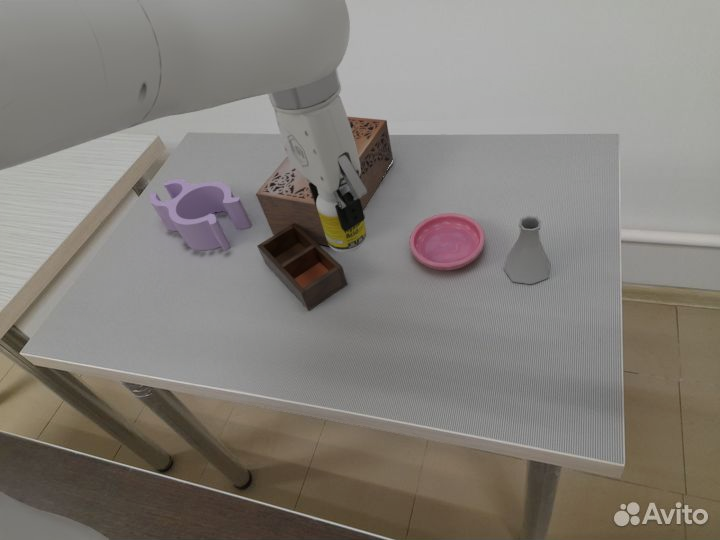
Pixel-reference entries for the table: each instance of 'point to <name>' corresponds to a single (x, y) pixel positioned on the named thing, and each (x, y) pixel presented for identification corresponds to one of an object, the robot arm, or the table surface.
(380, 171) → the tissue box cover
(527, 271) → the flask
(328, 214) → the supplement bottle
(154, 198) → the clip
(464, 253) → the saucer
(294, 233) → the holder
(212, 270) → the table surface
